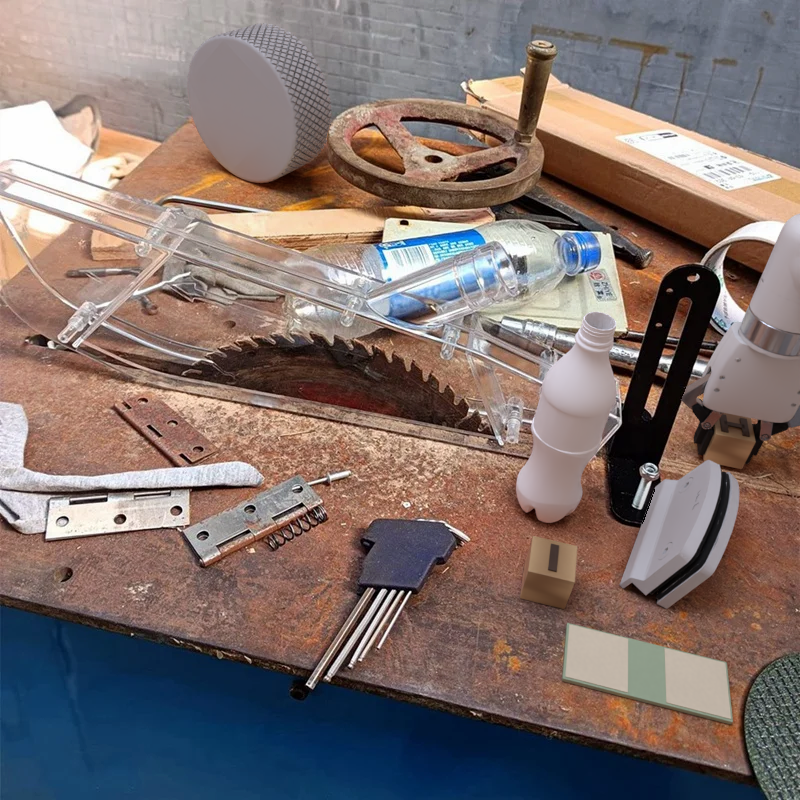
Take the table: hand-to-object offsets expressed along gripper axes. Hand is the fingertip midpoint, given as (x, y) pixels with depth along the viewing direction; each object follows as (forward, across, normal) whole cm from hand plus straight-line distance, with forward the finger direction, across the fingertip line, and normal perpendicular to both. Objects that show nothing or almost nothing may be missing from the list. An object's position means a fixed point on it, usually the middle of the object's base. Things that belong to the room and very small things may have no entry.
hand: (722, 450), depth 93 cm
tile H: (0, 0, 0) cm, 0 cm away
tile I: (+1, +19, +26) cm, 32 cm away
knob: (-1, +80, -53) cm, 97 cm away
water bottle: (+1, +20, +15) cm, 25 cm away
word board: (+1, +9, +33) cm, 34 cm away
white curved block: (+1, +6, +17) cm, 18 cm away
